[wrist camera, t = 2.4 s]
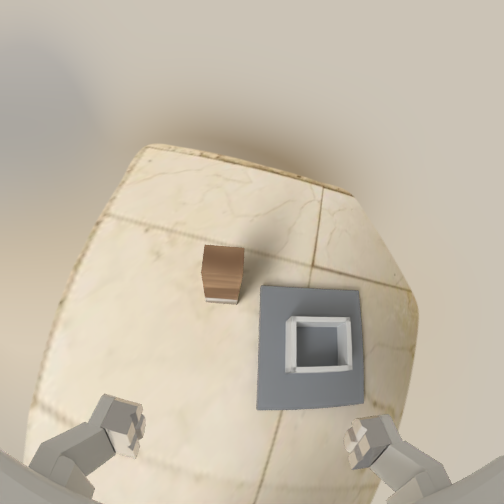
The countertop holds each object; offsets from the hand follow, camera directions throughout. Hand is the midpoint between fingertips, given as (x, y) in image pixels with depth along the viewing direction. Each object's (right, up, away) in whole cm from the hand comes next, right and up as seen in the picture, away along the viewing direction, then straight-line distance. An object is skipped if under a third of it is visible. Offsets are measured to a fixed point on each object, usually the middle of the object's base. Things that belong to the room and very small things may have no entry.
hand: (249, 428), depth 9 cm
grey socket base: (+8, -6, +25) cm, 27 cm away
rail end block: (-4, +1, +27) cm, 28 cm away
